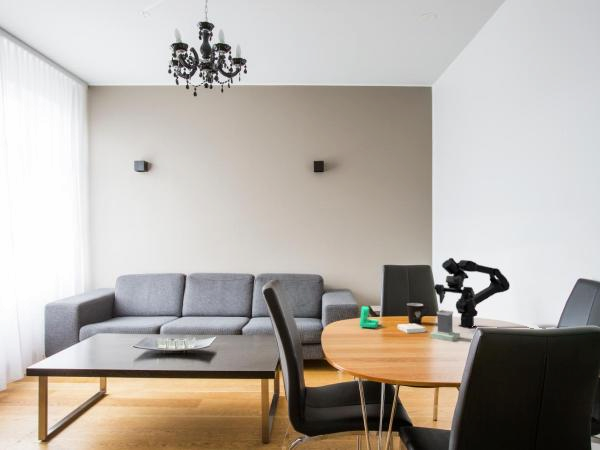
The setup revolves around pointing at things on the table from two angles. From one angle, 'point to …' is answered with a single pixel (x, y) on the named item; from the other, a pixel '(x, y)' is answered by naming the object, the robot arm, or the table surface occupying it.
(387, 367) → the table surface
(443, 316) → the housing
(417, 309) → the coffee mug
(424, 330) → the stand
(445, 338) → the stand
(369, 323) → the camera mount
